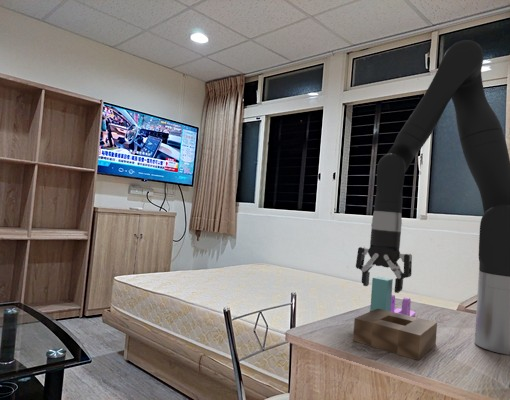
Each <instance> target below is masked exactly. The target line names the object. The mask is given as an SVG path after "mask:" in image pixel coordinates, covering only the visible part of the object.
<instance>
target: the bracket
mask: <svg viewBox="0 0 510 400" xmlns="http://www.w3.org/2000/svg"><path fill="white" fill-rule="evenodd" d="M411 302H412V301H411V298H410V297H406V296H404V297H403V298H402V302H401V308H399V307H397V308H395V307H396V295H394V294H392V297H391V312H395V313H399V314H403V315H408V316H412V317H416V312H415V311H414V310H411V304H412V303H411Z"/></svg>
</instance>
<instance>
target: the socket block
mask: <svg viewBox="0 0 510 400" xmlns="http://www.w3.org/2000/svg"><path fill="white" fill-rule="evenodd" d="M353 320H354V321H353V335H352V341H353V342H357V343H360V344H364V345H367V346H370V347H373V348H377V349H379V350H383V351H386V352H389V353H393V354H397V355H399V356H403V357H405V358H409V359H413V360H416V361H419V360H421V359H422V357H424V356H425V355H426V354H427V353H428V352H429V351H431V349H433V347H434V346H436V342H437V331H438V330H437V329H438V322H437V321H433V320H428V319H423V318H420V317H416V316H415V317H412V316H408V315H403V314H399V313H395V312H391V311H386V310H382V309H375V310H373V311H371V312H370V311H368V312H366V313H364V314H361V315H359V316H356V317H355V318H354V319H353Z"/></svg>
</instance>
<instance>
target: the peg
mask: <svg viewBox="0 0 510 400" xmlns="http://www.w3.org/2000/svg"><path fill="white" fill-rule="evenodd" d="M393 283H394V282H393V278H389V277H384V276H374V277H372V280H371V295H370V296H371V297H370V308H369V312H371V311H373V310H375V309H382V310H386V311H391V297H392V295H393Z"/></svg>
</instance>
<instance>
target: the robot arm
mask: <svg viewBox="0 0 510 400" xmlns="http://www.w3.org/2000/svg"><path fill="white" fill-rule="evenodd" d="M483 52H484V51H483V48H482V47H481V45H480V44H479V43H477V42H476V41H474V40H470V39H467V40H466V39H464V40H459V41H457V42H455V43H454V44H452V45H451V46H449V48H448V49H447V50H446V51H445V53H444V55H443V57H442V59H441V61H440V64H439V66H438V68H437V70H436V73H435V75H434V76H433V79H432V81H431V82H430V84H429V86H428V88H427V89H426V91H425V92H424V94H423V96H422V98H421V99H420V100H419V102H418V104H417V105H416V107H415V108H414V110H413V111H412V112H411V114H410V116H409V117H408V119H407V120H406V121H405V123H404V125H403V126H402V128H400V131H399V132H398V134H397V136H396V138H395V140H394V143H393V145H392V146H391V148H390V149H389V150H388V151H387V153H386V154H384V155H383V156H382V157H381V158H380V159H379V161H378V163H377V167H376V192H375V197H374V207H373V214H372V220H371V227H370V228H371V231H370V242H369V244H370V245H369V248H366V247H365V246H360V247H358V248H357V255H356V263H355V268H356V269H357V270H358V269H359V270H360V271H361V284H362V285H363V287H368V286H369V285H370V284H369V283H370V273H371V272H370V270H372V268H374V266H376V267H383V268H387V269H388V268H390V270H391V271H392V272H393V273H394V275H395V277H396V278H395V280H394V281H395V282H394V293H395V294H399V293H401V291H402V290H403V286H404V279H405V278H410V277H412V269H413V268H412V263H413V262H412V261H413V259H412V258H413V255H412V254H411V253H401V251H400V247H401V234H402V233H401V232H402V223H403V222H402V220H403V219H402V210H403V188H404V182H405V173H407V171H408V169H409V167H410V165H411V163H412V162H413V160H414V159H415V157H416V155H417V154H418V153H419V151H420V150H421V149H422V148H423V147H424V145H425V143H426V142H427V141H428V140H429V138H430V136H431V135H432V133H433V132H434V130H435V128H436V127H437V125H438V123H439V121H440V119H441V117H442V115H443V114H444V111H445V109H446V108H447V106H448V103H449V102H450V101H451V100H452V103H453V107H454V112H455V121H456V126H457V131H458V137H459V141H460V146H461V150H462V154H463V157H464V159H465V162H466V165H467V167H468V169H469V172H470V173H471V176H472V178H473V180H474V182H475V184H476V186H477V188H478V191H479V195H480V198H481V199H480V200H481V202H482V209H483V210H482V211H483V215H482V217H481V219H480V223H479V235H478V236H479V237H478V262H479V263H478V264H479V266H478V284H477V299H476V315H475V327H474V328H475V331H474V344H475V345H476V346H478V347H480V348H482V349H485V350H487V351H490V352H493V353H494V352H495V353H498V354H502V355H510V155H509V149H508V145H507V141H506V138H505V134H504V130H503V128H502V125H501V122H500V120H499V118H498V116H497V115H496V113H495V111H494V110H493V108H492V106H491V105H490V103H489V102H488V100H487V97H486V93H485V89H484V84H483V77H482V68H483V67H482V66H483V64H484V53H483ZM367 255H368V256H369V257H370V259H368V261H366V263H365V257H366V256H367ZM400 259H401V261H402V263H403V271H402V269H401V266H400V265H399V263H398V260H400ZM364 263H365V264H364Z"/></svg>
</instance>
